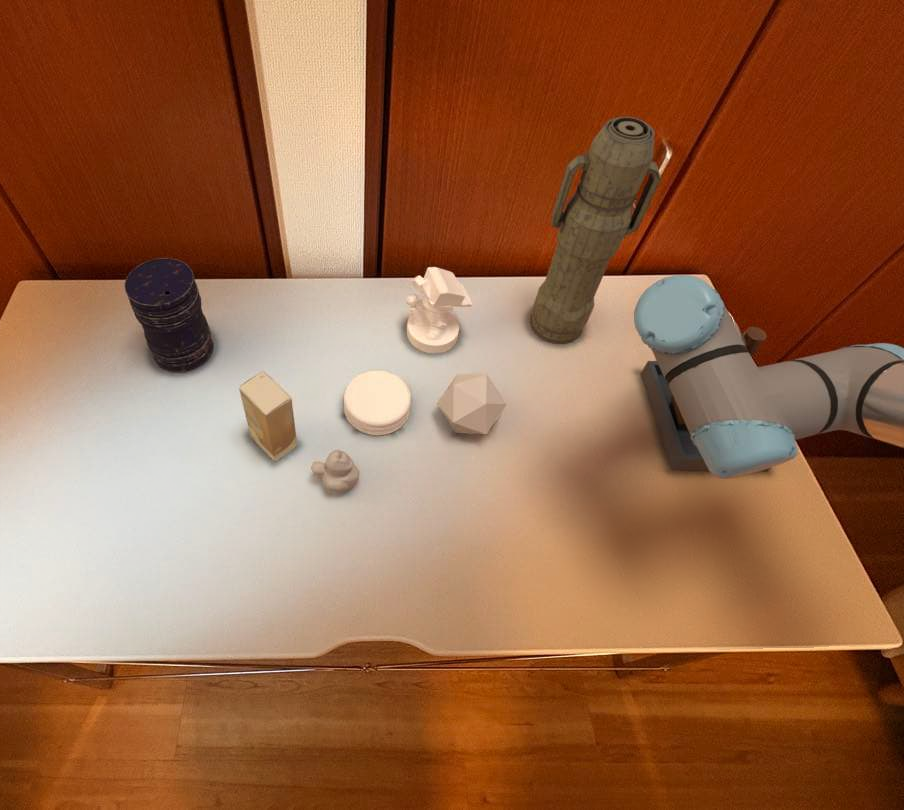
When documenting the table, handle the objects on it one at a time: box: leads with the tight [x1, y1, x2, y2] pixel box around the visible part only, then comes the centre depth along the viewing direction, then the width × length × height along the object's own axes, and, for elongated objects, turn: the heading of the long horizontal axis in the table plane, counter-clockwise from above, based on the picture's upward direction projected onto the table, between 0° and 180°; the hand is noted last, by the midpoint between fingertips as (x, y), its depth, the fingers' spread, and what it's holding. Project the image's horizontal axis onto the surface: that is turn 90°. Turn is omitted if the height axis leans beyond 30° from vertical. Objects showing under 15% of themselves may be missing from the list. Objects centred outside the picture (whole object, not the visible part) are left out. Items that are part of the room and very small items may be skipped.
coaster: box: [343, 369, 412, 436], centre depth 91 cm, size 10×10×4 cm
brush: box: [669, 326, 767, 430], centre depth 84 cm, size 7×5×18 cm
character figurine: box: [405, 266, 473, 355], centre depth 97 cm, size 9×10×12 cm
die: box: [436, 373, 508, 435], centre depth 89 cm, size 8×9×10 cm
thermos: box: [529, 116, 662, 345], centre depth 89 cm, size 9×12×35 cm
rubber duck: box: [310, 449, 360, 494], centre depth 82 cm, size 5×7×8 cm
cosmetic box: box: [238, 370, 298, 462], centre depth 84 cm, size 6×4×12 cm
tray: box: [640, 360, 773, 472], centre depth 91 cm, size 18×14×3 cm
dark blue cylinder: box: [124, 257, 214, 374], centre depth 93 cm, size 10×10×15 cm
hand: (734, 379), depth 87 cm, fingers closed on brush, 2 cm apart
